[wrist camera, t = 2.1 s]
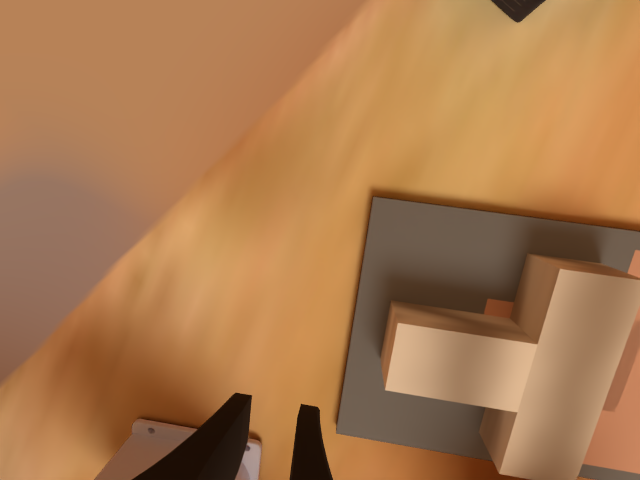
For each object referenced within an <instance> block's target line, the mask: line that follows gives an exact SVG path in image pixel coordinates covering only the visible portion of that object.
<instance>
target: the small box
mask: <svg viewBox="0 0 640 480" xmlns="http://www.w3.org/2000/svg"><path fill="white" fill-rule="evenodd" d="M491 1H492V2H494V3H495V4H496V5H497V6H498V7H499V8H500V9H501V10H502V11H503V12H504V13H506V14H507V15H508V16H509V17H511V18H512V19H513V20H514V21H516V22H520V21H522V20H523V19H524V18H525V17H526V16H528V15H529V14H530V13H531V12H532V11H533V10H535V9H536V8H537V7H538V6H539V5H540V4H542V3H543V2H544V1H545V0H491Z"/></svg>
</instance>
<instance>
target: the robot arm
mask: <svg viewBox="0 0 640 480" xmlns="http://www.w3.org/2000/svg"><path fill="white" fill-rule="evenodd" d="M251 399H252V395H246V394H240V393H235V394H234V395H232V396H231V397H230V398H229V400H228V401H227V402H226V403H225V404H224V405H223V406H222V407H221V408H220V409H219V410H218V411H217V412H216V413H215V414H214V415H212V416H211V417H210V418H209V419H208V420H207V421H206V422H205V423H204V424H203V425H202V426H201V427H200V428H198V429H194V428H189V427H183V426H178V425H172V424H167V423H161V422H156V421H150V420H145V419H137V420H136V421H135V422H134V423H133V424H132V434H131V435H130V437H129V438H128V439H127V440H126V442H125V443H124V444H123V445H122V446H121V448H120V449H119V450H118V451H117V452H116V454H115V455H114V456H113V457H112V458H111V460H110V461H109V462H108V463H107V464H106V466H105V467H104V468H103V469H102V471H101V472H100V473H99V474H98V475H97V477H96V478H95V479H94V480H259V471H260V461H261V451H262V444H261V443H260V442H259V441H258V440H255V439H249V438H248V433H249V422H250V411H251ZM152 428H153V429H152ZM247 445H248V446H249V447H247ZM290 480H333V478H332V475H331V472H330V468H329V465H328V461H327V457H326V453H325V448H324V444H323V439H322V433H321V426H320V410H319V408H318V407H315V406H309V405H304V404H301V406H300V410H299V414H298V418H297V426H296V433H295V441H294V449H293V457H292V465H291V473H290Z"/></svg>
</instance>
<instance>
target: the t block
mask: <svg viewBox="0 0 640 480" xmlns="http://www.w3.org/2000/svg"><path fill="white" fill-rule="evenodd" d="M639 306H640V278H638V277H636V276H633V275H630V274H628V273H625V272H622V271H620V270H617V269H615V268H612V267H609V266H607V265H604V264H601V263H594V262H587V261H580V260H572V259H565V258H558V257H551V256H543V255H536V254H529V253H527V256H526V260H525V264H524V268H523V271H522V275H521V279H520V282H519V286H518V290H517V293H516V297H515V301H514V304H513V308H512V312H511V315H510V318H505V317H498V316H492V315H485V314H478V313H472V312H465V311H458V310H452V309H445V308H438V307H432V306H425V305H419V304H412V303H405V302H399V301H392V300H391V303H390V309H389V314H388V320H387V325H386V331H385V336H384V341H383V347H382V352H381V358H380V361H381V367H382V374H383V380H384V387H385V390H387V391H393V392H398V393H404V394H410V395H416V396H422V397H428V398H434V399H440V400H446V401H452V402H458V403H464V404H470V405H476V406H482V407H486V408H485V411H484V415H483V419H482V422H481V426H480V430H479V433H480V435H481V438H482V440H483V442H484V444H485V446H486V448H487V450H488V452H489V454H490V456H491V458H492V460H493V462H494V464H495V466H496V468H497V470H498V472H499V474H502V475H508V476H513V477H519V478H525V479H530V480H577V477H578V475H579V472H580V469H581V466H582V464H583V461H584V458H585V455H586V452H587V450H588V447H589V444H590V441H591V439H592V436H593V433H594V430H595V428H596V425H597V422H598V419H599V417H600V414H601V411H602V408H603V406H604V403H605V400H606V397H607V395H608V392H609V389H610V386H611V383H612V381H613V378H614V375H615V372H616V370H617V367H618V364H619V361H620V359H621V356H622V353H623V350H624V348H625V345H626V342H627V339H628V337H629V334H630V331H631V328H632V325H633V323H634V320H635V317H636V314H637V312H638V309H639Z"/></svg>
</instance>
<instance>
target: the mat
mask: <svg viewBox="0 0 640 480" xmlns="http://www.w3.org/2000/svg"><path fill="white" fill-rule="evenodd" d="M527 253H529V254H536V255H543V256H551V257H558V258H565V259H572V260H580V261H587V262H594V263H601V264H604V265H607V266H609V267H612V268H615V269H617V270H620V271H622V272H625V273H628V274H630V275H633V276H636V277H638V278H640V231H635V230H627V229H619V228H612V227H604V226H596V225H589V224H581V223H574V222H566V221H558V220H551V219H543V218H536V217H528V216H520V215H513V214H505V213H497V212H490V211H482V210H475V209H467V208H459V207H452V206H444V205H437V204H429V203H421V202H414V201H406V200H398V199H391V198H383V197H376V196H373V199H372V206H371V212H370V218H369V224H368V231H367V237H366V243H365V250H364V256H363V262H362V269H361V275H360V281H359V288H358V294H357V300H356V307H355V313H354V319H353V326H352V332H351V338H350V345H349V351H348V357H347V363H346V370H345V376H344V382H343V389H342V395H341V401H340V408H339V414H338V420H337V427H336V433H337V434H342V435H348V436H353V437H359V438H365V439H370V440H376V441H382V442H387V443H393V444H398V445H404V446H410V447H415V448H421V449H427V450H432V451H438V452H443V453H449V454H455V455H460V456H466V457H472V458H477V459H483V460H489V461H493V460H492V458H491V456H490V454H489V452H488V450H487V448H486V446H485V444H484V442H483V440H482V438H481V435H480V433H479V430H480V426H481V422H482V419H483V415H484V411H485V408H486V407H482V406H476V405H470V404H464V403H458V402H452V401H446V400H440V399H434V398H428V397H422V396H416V395H410V394H404V393H398V392H393V391H387V390H385V387H384V380H383V374H382V367H381V361H380V358H381V352H382V347H383V341H384V336H385V331H386V325H387V320H388V314H389V309H390V303H391V300H392V301H399V302H405V303H412V304H419V305H425V306H432V307H438V308H445V309H452V310H458V311H465V312H472V313H478V314H485V315H492V316H498V317H505V318H510V315H511V312H512V308H513V304H514V301H515V297H516V293H517V290H518V286H519V282H520V279H521V275H522V271H523V268H524V264H525V260H526V256H527ZM578 476H579V477H584V478H590V479H595V480H640V306H639V309H638V312H637V314H636V317H635V320H634V323H633V325H632V328H631V331H630V334H629V337H628V339H627V342H626V345H625V348H624V350H623V353H622V356H621V359H620V361H619V364H618V367H617V370H616V372H615V375H614V378H613V381H612V383H611V386H610V389H609V392H608V395H607V397H606V400H605V403H604V406H603V408H602V411H601V414H600V417H599V419H598V422H597V425H596V428H595V430H594V433H593V436H592V439H591V441H590V444H589V447H588V450H587V452H586V455H585V458H584V461H583V464H582V466H581V469H580V472H579V475H578Z"/></svg>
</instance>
